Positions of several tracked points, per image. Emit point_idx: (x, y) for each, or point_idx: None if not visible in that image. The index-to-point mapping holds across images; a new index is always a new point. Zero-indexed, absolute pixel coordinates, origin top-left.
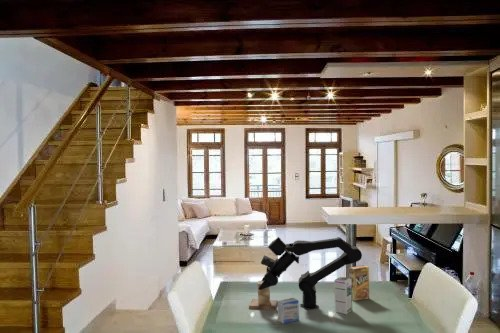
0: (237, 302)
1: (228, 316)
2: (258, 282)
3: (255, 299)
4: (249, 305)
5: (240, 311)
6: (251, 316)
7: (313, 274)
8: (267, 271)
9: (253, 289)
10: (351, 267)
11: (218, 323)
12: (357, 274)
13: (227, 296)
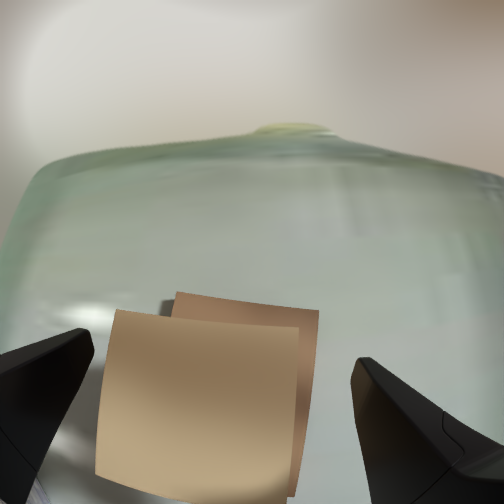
0: (297, 226)
1: (96, 205)
2: (197, 326)
3: (312, 334)
4: (179, 295)
5: (142, 251)
6: (67, 309)
7: None
8: (483, 499)
9: (501, 296)
10: None
11: (52, 186)
12: None
13: (382, 179)
